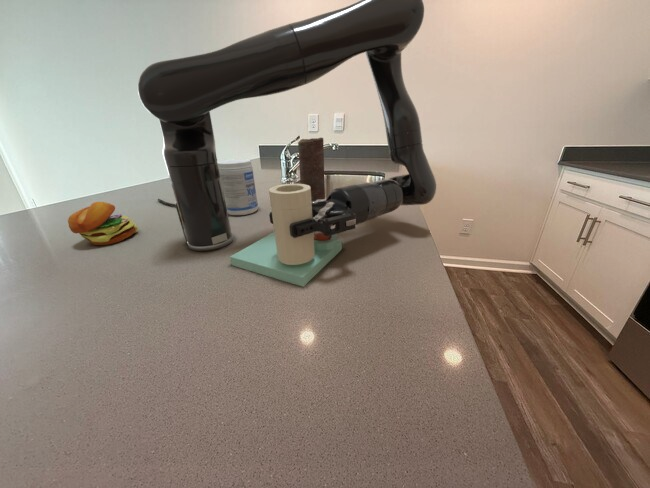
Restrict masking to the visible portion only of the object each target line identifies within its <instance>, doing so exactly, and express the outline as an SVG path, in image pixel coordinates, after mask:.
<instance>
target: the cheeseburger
mask: <svg viewBox="0 0 650 488" xmlns="http://www.w3.org/2000/svg"><path fill="white" fill-rule="evenodd" d="M115 211H116V206H115V205H114V204H113V203H112V204H111V203H109V202H105V201H95V202H92V203H91V204H90V205H89V206H86V207H84V208H81V209H79V210H77V211H75V212H73V213H71V214H70V215H69V217H68V218H67V223H68V228H69V230H70V231H71V232H72V233H73V234H79V235H80V237H82V238H83V239H84V240H87V241H88V242H89V243H90V244H91V245H95V246H107V245H112V244H117V243H119V242H122V241H123V240H125V239H127V238H129V237H131V236H132V235H134V234H136V233H137V232H138V230H139V227H138V226H137V224H136V223H134V221H133V220H132V219H130V218H129V216H127V215H122V213H120V214H114V212H115ZM113 214H114V215H113Z"/></svg>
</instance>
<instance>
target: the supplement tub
mask: <svg viewBox="0 0 650 488" xmlns="http://www.w3.org/2000/svg"><path fill="white" fill-rule="evenodd" d="M217 162H218V167H219V172H220V177H221V182H222V187H223V192H224V197H225V202H226V207H227V212H228V215H230V216H245V215H250V214H253V213H256V212H257V210H258V209H259V203H258V197H257V190H256V182H255V177H254V168H253V164H252V160H251V159H246V158H240V159H239V158H237V159H236V158H235V159H225V160H219V161H217Z"/></svg>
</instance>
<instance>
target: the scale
mask: <svg viewBox="0 0 650 488" xmlns="http://www.w3.org/2000/svg"><path fill="white" fill-rule="evenodd" d="M313 235H314V232H313ZM342 249H343V240H339V239H338V233H337V234H334V235H330V239H329V240H326V241H318V240H314V257H313V259H312V260H310V261H309V262H306V263H303V264H299V265H288V264H284V263H282V262H280V261H279V260H278V255H277V248H276V241H275V233H274V231H273V232H271V233H270V234H268V235H265V236H264V237H261V238H260V239H259V240H257V241H255V242H253V243H251V244H250V245H248V246H246V247H244V248H243V249H241V250H239V251H237V252H236V253H233V254H232V255H230V256H229V259H230V264H231V266H232V267H236V268H239V269H242V270H246V271H249V272H252V273H256V274H260V275H263V276H265V277H270V278H272V279H276V280H279V281H282V282H286V283H289V284H293V285H296V286H299V287H303V288H304V287H305V286H306V285H307V284H308V283H309V282H310V281H311V280H312V279H313V278H314V277H315V276H316V275H317V274H319V272H321V270H322V269H323V268H324V267H326V266H327V264H329V263H330V262H331V260H333V259H334V258H335V257H336V255H338V254H339V253H340V252H341V251H342Z"/></svg>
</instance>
